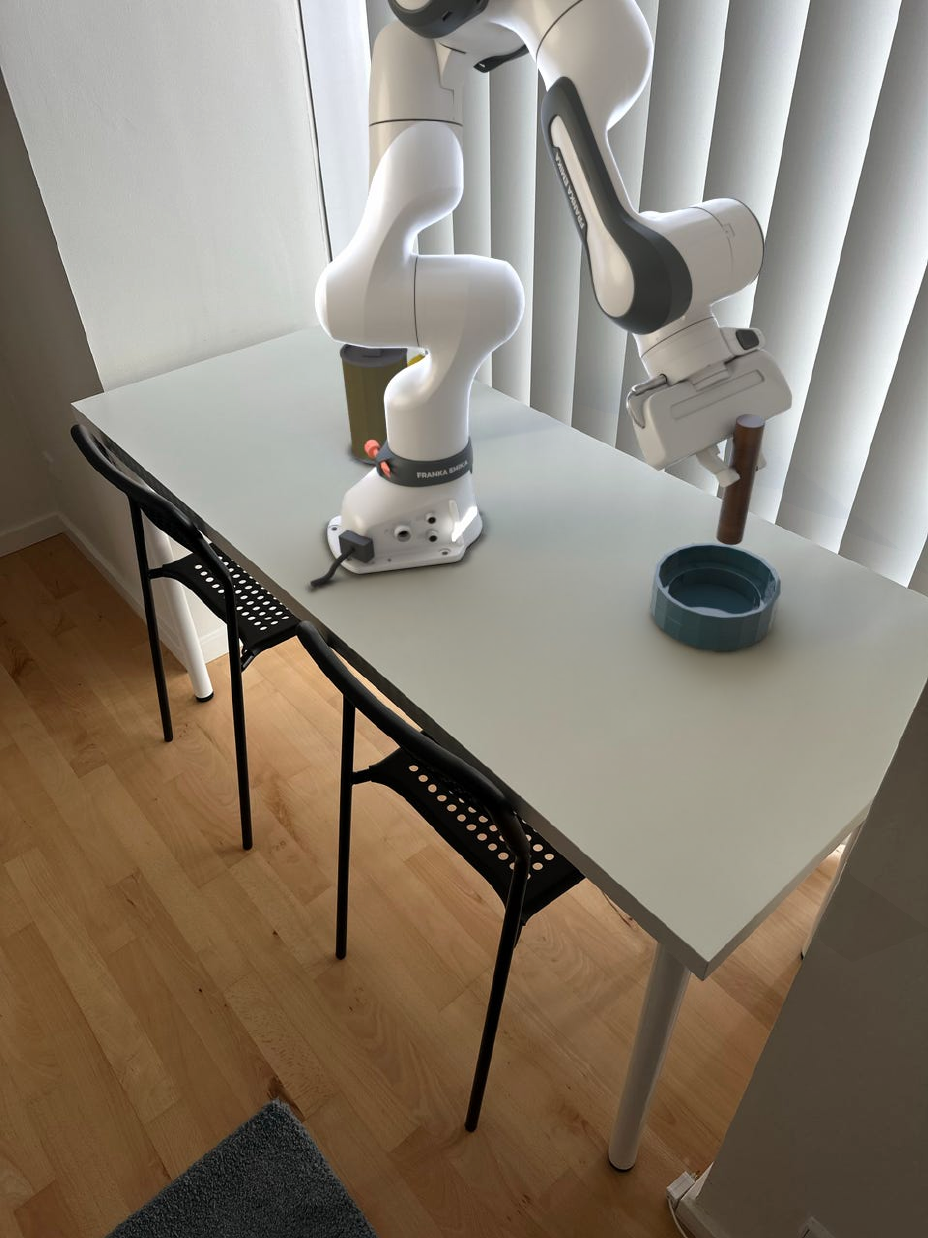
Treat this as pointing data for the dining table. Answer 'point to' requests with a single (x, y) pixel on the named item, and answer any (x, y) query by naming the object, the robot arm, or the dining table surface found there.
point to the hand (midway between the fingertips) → (745, 477)
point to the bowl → (715, 596)
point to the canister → (369, 392)
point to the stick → (740, 492)
